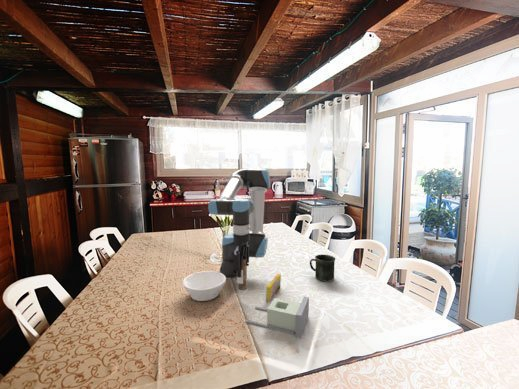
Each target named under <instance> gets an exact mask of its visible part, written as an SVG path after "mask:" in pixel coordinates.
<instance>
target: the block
mask: <svg viewBox="0 0 519 389" xmlns="http://www.w3.org/2000/svg"><path fill="white" fill-rule="evenodd" d="M300 304H301V302H299V301H292V300H288V299H287V300H286V299H282V298H279V297H278V298H277V297H273V299H272V301H271V303H270V304H269V306H268V307H267V311H266V313H267V314H266V316H267V317H266V319H267V320H266V322H267V323H266V324H267V325H271V326H275V327H279V328H283V329H287V330H291V331H294V333H296V313H297V311H298V309H299V306H300Z"/></svg>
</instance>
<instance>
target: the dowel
mask: <svg viewBox="0 0 519 389" xmlns="http://www.w3.org/2000/svg"><path fill="white" fill-rule="evenodd" d="M242 270H243V284H240V283H238V290H240V291H245V290H246V289H247V280H246V259H243V261H242Z"/></svg>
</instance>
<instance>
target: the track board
mask: <svg viewBox="0 0 519 389" xmlns="http://www.w3.org/2000/svg"><path fill="white" fill-rule="evenodd" d="M309 301H310V297H309V296H304V295H303V298H302V300H301V302H300V303H301V304H300V306H299V309H298V311H297V313H296V332H294V331H291V330H287V329H283V328H279V327H275V326H271V325H267V323H262V322H258V321H254V320H249V319H245V322H244V323H247V324H250V325H254V326H257V327H258V326H259V327H262V328H266V329H270V330H274V331H279V332H282V333H285V334H291V335H295V336H294V337H295V338H297V339H301V338H302V336H303V335H304V334H303V333H304V331H305V328H306V325H307V322H308V320H309V306H310V305H309V303H310V302H309ZM267 309H268V307H262V306H255V310H260V311H264V312H267Z"/></svg>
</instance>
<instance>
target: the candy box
mask: <svg viewBox="0 0 519 389" xmlns="http://www.w3.org/2000/svg"><path fill="white" fill-rule="evenodd" d="M281 276H282V274H280V273H277V274H276V275H275V276H274V277H273V279H272V280H271V281H270V282H269V283H268V285H266V290H265V292H266V293H265V301H267V302H270V301H271V300H273V299H272V298H274V296H275V295H277V294H278V293H279V291H280V289H281V282H282V281H281V280H282V279H281V278H282V277H281Z"/></svg>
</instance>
